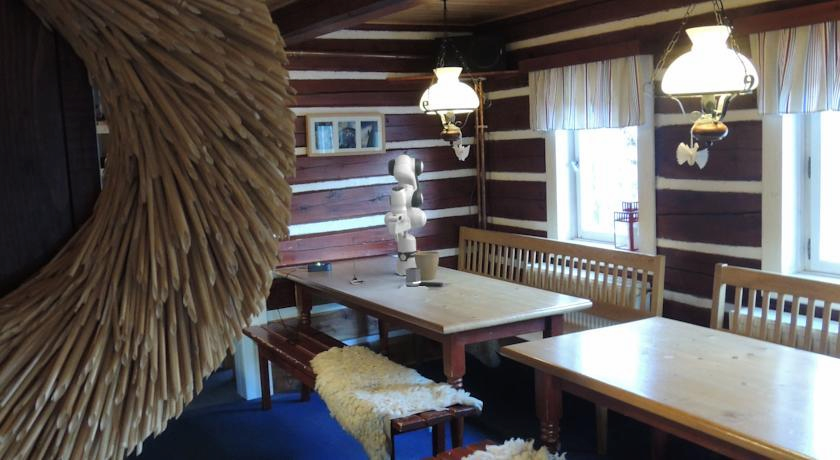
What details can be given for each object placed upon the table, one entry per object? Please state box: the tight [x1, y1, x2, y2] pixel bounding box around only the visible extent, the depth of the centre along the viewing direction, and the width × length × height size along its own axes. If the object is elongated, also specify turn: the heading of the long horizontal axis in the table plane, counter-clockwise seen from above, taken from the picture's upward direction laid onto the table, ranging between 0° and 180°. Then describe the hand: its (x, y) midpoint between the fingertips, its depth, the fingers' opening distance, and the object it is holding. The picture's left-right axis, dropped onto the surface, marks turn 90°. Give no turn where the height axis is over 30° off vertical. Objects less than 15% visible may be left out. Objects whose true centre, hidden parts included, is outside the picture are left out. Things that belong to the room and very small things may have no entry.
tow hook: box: [352, 260, 358, 280], centre depth 460 cm, size 8×13×9 cm
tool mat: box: [427, 282, 453, 291], centre depth 437 cm, size 20×26×1 cm
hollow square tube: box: [405, 268, 421, 283], centre depth 439 cm, size 6×6×7 cm
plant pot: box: [414, 250, 440, 281], centre depth 457 cm, size 15×15×16 cm
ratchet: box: [405, 280, 444, 287], centre depth 436 cm, size 22×9×6 cm, turn 63°
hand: (401, 240), depth 445 cm, fingers open, 8 cm apart
